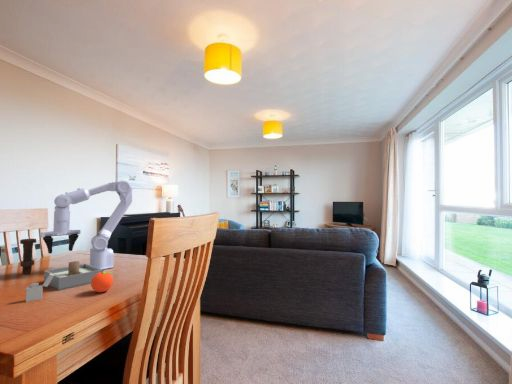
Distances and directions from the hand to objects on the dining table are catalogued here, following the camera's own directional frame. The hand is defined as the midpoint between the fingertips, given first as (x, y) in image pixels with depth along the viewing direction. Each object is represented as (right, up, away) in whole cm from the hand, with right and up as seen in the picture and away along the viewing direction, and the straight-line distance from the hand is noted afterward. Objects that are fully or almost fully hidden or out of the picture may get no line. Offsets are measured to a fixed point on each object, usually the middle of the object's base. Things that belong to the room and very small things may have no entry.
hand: (60, 251), depth 117 cm
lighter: (+16, -9, -30) cm, 35 cm away
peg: (+14, -9, -12) cm, 20 cm away
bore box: (+14, -9, -12) cm, 20 cm away
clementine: (+32, -10, -22) cm, 40 cm away
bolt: (-13, -9, -2) cm, 17 cm away
